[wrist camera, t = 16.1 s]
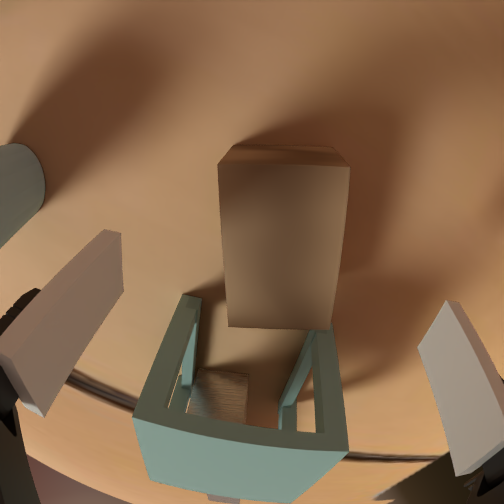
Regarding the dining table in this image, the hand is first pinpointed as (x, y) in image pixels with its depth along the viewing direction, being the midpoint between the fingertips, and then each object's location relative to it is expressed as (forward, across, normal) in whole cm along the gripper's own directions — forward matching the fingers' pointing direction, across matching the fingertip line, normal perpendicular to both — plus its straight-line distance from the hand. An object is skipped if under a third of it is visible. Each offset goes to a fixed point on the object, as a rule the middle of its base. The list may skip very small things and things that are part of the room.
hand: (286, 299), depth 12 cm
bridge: (+7, 0, -11) cm, 13 cm away
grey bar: (+7, 0, -25) cm, 26 cm away
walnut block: (+7, 0, 0) cm, 7 cm away
